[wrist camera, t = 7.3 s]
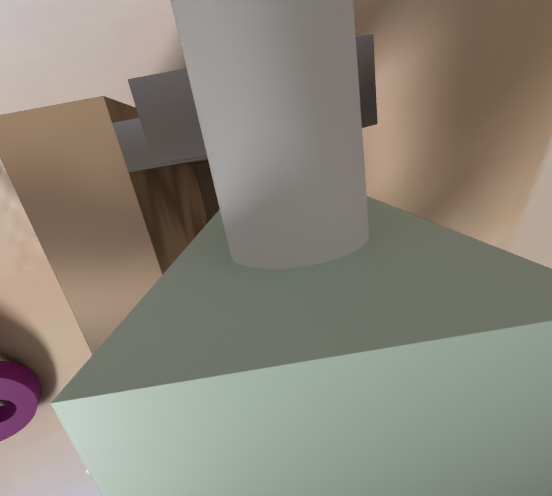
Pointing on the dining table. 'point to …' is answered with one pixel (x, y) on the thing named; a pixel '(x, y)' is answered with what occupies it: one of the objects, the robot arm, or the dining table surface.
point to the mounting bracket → (17, 397)
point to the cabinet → (120, 187)
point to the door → (314, 306)
